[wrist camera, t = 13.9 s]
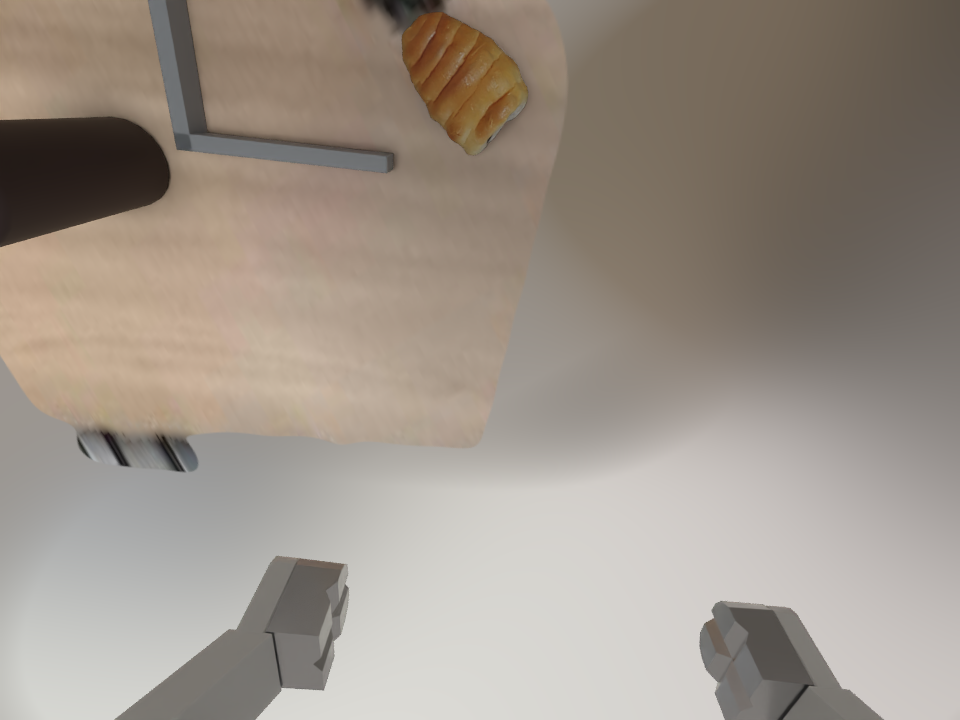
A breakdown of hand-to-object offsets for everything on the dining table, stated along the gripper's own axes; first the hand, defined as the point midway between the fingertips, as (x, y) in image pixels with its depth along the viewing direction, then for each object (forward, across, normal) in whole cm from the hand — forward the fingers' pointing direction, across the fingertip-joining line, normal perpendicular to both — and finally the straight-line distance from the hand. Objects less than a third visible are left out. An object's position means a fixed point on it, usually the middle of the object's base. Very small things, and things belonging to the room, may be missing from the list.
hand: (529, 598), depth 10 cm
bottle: (+35, +32, -2) cm, 47 cm away
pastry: (+35, +4, -14) cm, 38 cm away
